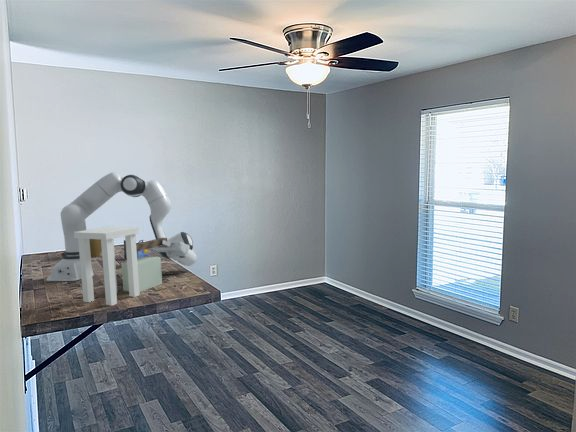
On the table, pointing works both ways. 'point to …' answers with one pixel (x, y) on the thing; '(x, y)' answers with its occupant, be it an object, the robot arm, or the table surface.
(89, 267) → the stool
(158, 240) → the wooden board
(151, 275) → the pale green cuboid block
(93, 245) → the plant pot
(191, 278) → the table surface
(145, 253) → the ink cartridge box
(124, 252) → the phone stand
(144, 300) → the table surface
